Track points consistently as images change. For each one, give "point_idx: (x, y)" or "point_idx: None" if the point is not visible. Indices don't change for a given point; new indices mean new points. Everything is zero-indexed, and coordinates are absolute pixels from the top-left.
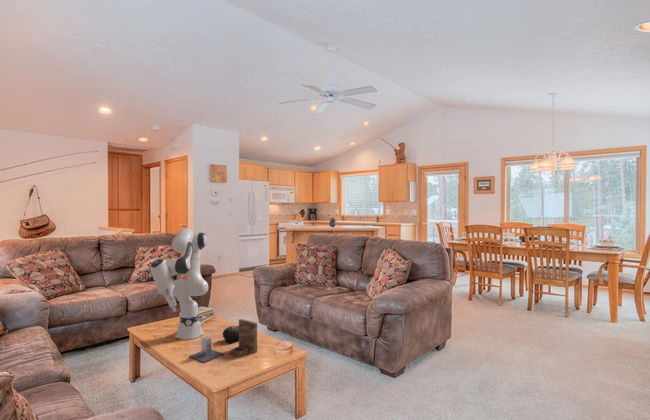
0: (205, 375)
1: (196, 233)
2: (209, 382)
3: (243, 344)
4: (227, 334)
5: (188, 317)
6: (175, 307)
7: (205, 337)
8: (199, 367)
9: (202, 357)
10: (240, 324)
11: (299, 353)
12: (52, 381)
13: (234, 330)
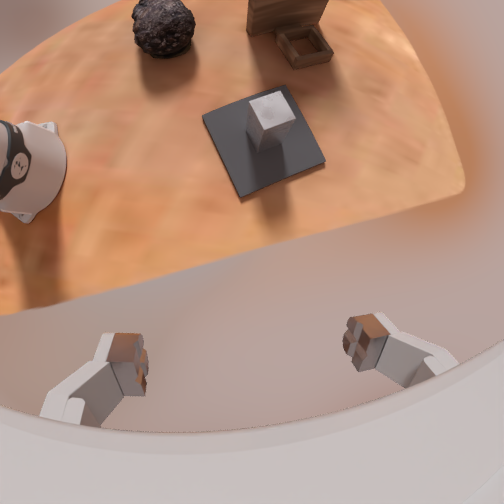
0: (409, 187)
1: None
2: (443, 192)
3: (274, 20)
4: (181, 34)
5: (3, 162)
6: (417, 339)
7: (261, 110)
8: (351, 185)
9: (283, 155)
10: None
11: None
12: None
13: (185, 9)
